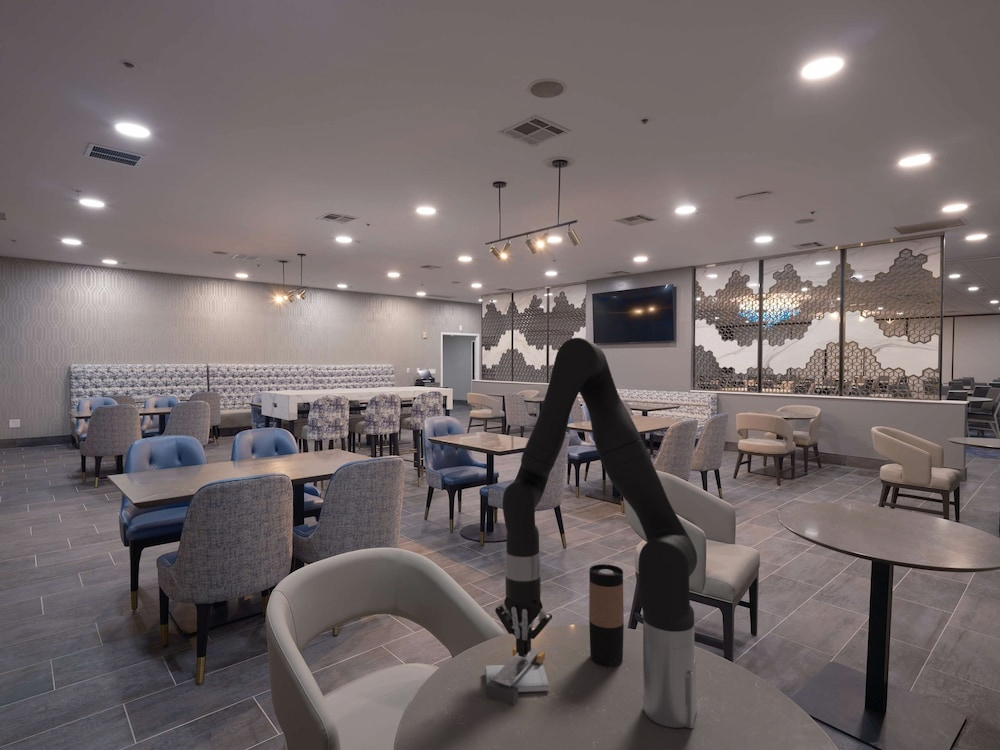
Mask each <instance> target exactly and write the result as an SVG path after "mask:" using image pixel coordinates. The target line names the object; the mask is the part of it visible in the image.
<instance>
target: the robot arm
mask: <svg viewBox="0 0 1000 750" xmlns="http://www.w3.org/2000/svg"><path fill="white" fill-rule="evenodd" d="M611 372H612V371H611V369H610V366H609V363H608V360H607V357H606V355H605V353H604V351H603V349H601V347H600V346H599V345H597V344H595V343H594V342H592V341H590V340H588V339H586V338H582V337H572V338H570V339H567V340H566V341H564V342H563V343H562V344H561V345H560V347H559V348H558V350H557V353H556V356H555V358H554V363H553V367H552V371H551V374H550V379H549V382H548V387H547V390H546V393H545V396H544V400H543V403H542V406H541V408H540V412H539V415H538V416H537V420H536V422H535V425H534V427H533V429H532V431H531V434H530V436H529V439H528V440H527V443H526V446H525V448H524V450H523V452H522V456H521V460H520V462H521V466H520V467H519V470H518V472H517V475H516V478H515V479H514V481H513V482H512V483H510V484H509V485H508V486H506V488H505V490H504V492H503V495H502V512H503V513H502V514H503V519H504V524H505V529H506V538H505V539H506V541H505V542H506V556H505V566H504V571H505V572H504V573H505V598H504V601H503V603H501V604H500V605H498V606H497V607H496V608H495V609H494V611H495V613H496V615H497V617H498V619H499V620H500V622H501V623H502V625H503V627H504V628H505V630H506V632H507V633H508V634H509V635H513V636H514V637H515V646H516V651H517V653H518V655H519V656H521V657H526V656H527V655H528V654H529V653H530V651H531V648H532V640H534V639H536V637H538V635H539V634H541V632H542V631H543V630H544V629H545V628H546V626H547V625H548V624H549V623H550V621H551V620H552V619H553V615H552V614H551V613H547V612H546V611H545V610H544V609H543V607H544V606H543V603H542V600H541V596H542V595H541V593H542V592H541V591H542V589H541V587H542V585H541V580H542V577H541V574H542V573H541V557H540V531H539V528H538V526H537V525H536V516H535V514H536V513H535V511H536V510H535V508H536V507H537V506H538V504H539V503H540V501H541V499H542V497H543V494H544V492H545V489H546V486H547V484H548V480H549V477H550V473H551V472H552V470H553V468H554V465H555V464H556V461H557V459H558V456H559V454H560V452H561V450H562V447H563V444H564V441H565V437H566V434H567V430H568V425H569V420H570V415H571V412H572V409H573V406H574V404H575V401H576V399H577V397H578V395H579V394H580V395H581V397H582V400H583V402H584V403H585V406H586V409H587V412H588V414H589V415H588V416H589V419H590V426H591V432H592V436H593V441H594V445H595V449H596V452H597V454H598V457H599V459H600V461H601V464H602V466H603V468H604V471H605V473H606V475H607V477H608V479H609V480H610V482H611V484H612V485H613V486H614V488H615V489H616V490H617V492H618V493H619V494H620V495H621V496H622V497H623V498H624V500H625V501H626V502H627V503H628V505H629V506H630V507H631V508H632V510H633V512H634V513H635V515H636V517H637V518H638V521H639V523H640V526H641V528H642V530H643V532H644V535H645V539H646V543H645V544H644V545H643V547H642V548H641V550H640V552H639V557H638V567H637V569H638V590H639V591H638V594H639V596H638V597H639V603H640V606H641V609H642V614H643V615H642V618H643V619H642V620H643V621H642V626H643V627H642V629H643V633H642V635H643V639H642V640H643V643H642V645H643V647H642V648H643V649H642V650H643V651H642V652H643V660H642V661H643V662H642V663H643V664H642V665H643V666H642V667H643V677H642V678H643V697H642V698H643V699H642V700H643V712H644V714H645V715H646V717H648V719H650V720H651V721H652V722H654V723H656V724H659V725H660V726H664V727H667V728H676V729H677V728H680V729H681V728H688V729H693V728H694V724H695V720H696V716H697V712H698V710H697V708H698V706H697V705H698V703H697V702H698V701H697V700H698V699H697V698H698V697H697V695H698V694H697V693H698V691H697V679H698V678H697V677H698V676H697V660H695V611H694V608H693V606H692V605H691V604H690V603H691V602H690V599H691V598H690V577H691V575H692V574H693V573H694V571H695V570H696V568H697V563H698V554H697V551H696V550H697V549H696V547H695V545H694V543H693V541H692V539H691V537H690V536H689V534H688V532H687V530H686V529H685V527H684V526H683V524H682V522H681V520H680V519H679V517H678V516H677V514H676V512H675V510H674V508H673V507H672V504H671V503H670V501H669V499H668V496H667V493H666V491H665V488H664V486H663V484H662V481H661V479H660V477H659V474H658V473H657V470H656V468H655V466H654V463H653V461H652V458H651V456H650V453H649V451H648V449H647V447H646V445H645V443H644V440H643V439H642V437H641V435H640V432H639V431H638V428H637V426H636V424H635V423H634V420H633V419H632V417H631V415H630V413H629V412H628V409H627V408H626V406H625V404H624V403H623V400H622V399H621V396H620V394H619V392H618V390H617V387H616V384H615V381H614V378H613V376H612V373H611ZM538 615H539V616H538ZM537 617H538V619H537V620H538V622H539V623H538V624H537V625H536V627H534V629H533V625H534V621H535V620H536V618H537Z"/></svg>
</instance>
